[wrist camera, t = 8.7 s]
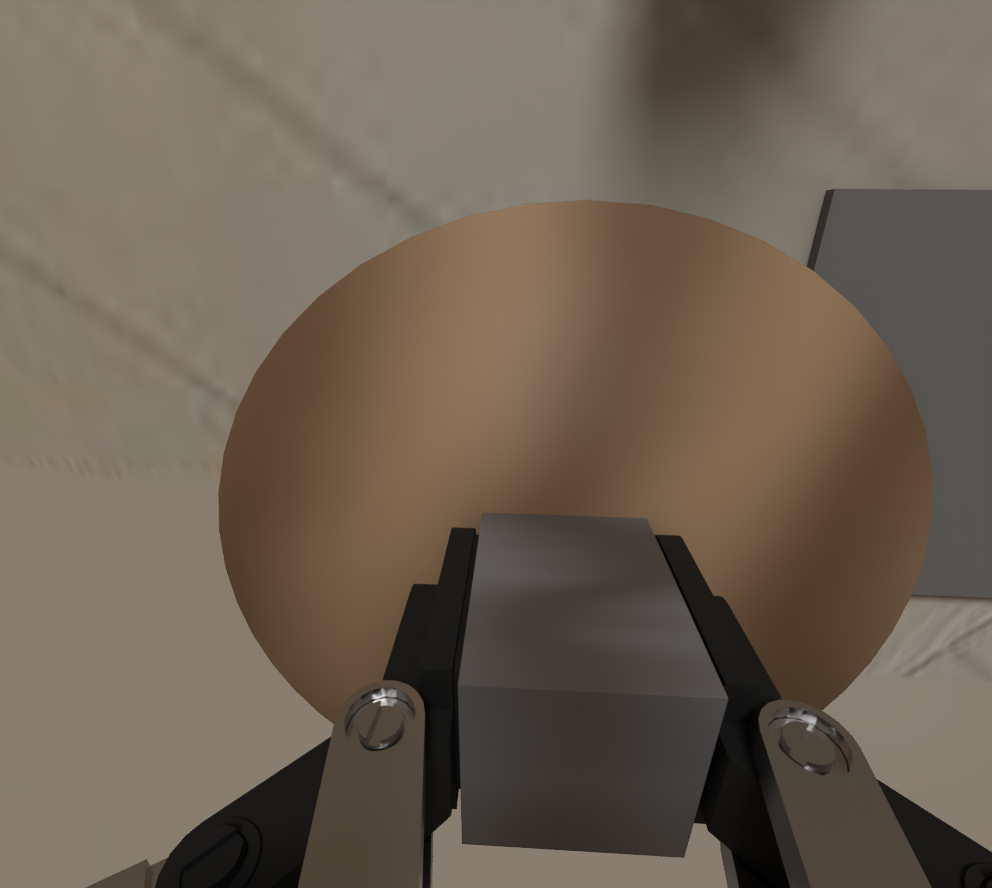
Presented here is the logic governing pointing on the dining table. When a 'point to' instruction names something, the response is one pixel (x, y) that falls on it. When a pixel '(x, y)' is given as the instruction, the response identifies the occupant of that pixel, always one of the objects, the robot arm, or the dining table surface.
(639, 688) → the lid
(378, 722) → the robot arm
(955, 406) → the mat
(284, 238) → the dining table surface
